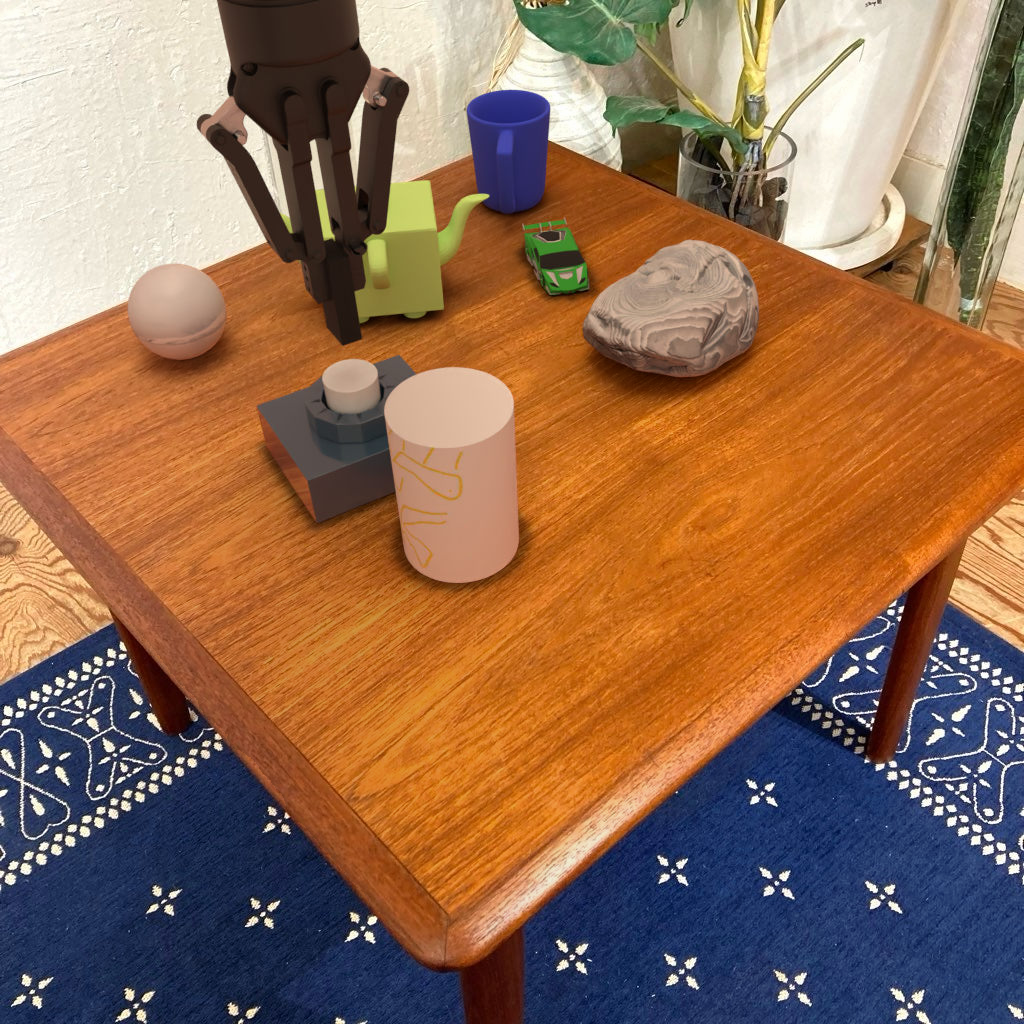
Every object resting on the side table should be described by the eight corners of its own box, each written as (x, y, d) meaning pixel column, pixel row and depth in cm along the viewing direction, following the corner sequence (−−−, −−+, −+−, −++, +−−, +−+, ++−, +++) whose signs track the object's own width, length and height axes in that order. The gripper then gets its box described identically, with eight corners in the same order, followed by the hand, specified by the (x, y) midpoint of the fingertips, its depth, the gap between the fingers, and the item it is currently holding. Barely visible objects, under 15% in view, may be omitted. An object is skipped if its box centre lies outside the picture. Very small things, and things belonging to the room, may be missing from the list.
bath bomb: (126, 349, 94) (99, 269, 88) (207, 314, 97) (186, 235, 92) (168, 390, 89) (142, 309, 84) (252, 352, 93) (232, 271, 87)
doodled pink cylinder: (381, 533, 76) (360, 400, 68) (474, 485, 80) (464, 352, 71) (446, 601, 71) (431, 466, 63) (542, 546, 75) (540, 411, 66)
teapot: (274, 309, 97) (250, 202, 90) (368, 245, 105) (353, 141, 98) (406, 361, 91) (392, 249, 84) (495, 288, 99) (490, 180, 92)
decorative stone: (584, 371, 84) (606, 242, 80) (568, 332, 96) (586, 218, 93) (764, 394, 85) (794, 268, 81) (725, 352, 98) (749, 241, 94)
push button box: (316, 523, 77) (303, 461, 73) (266, 447, 83) (251, 386, 79) (462, 464, 81) (457, 402, 77) (404, 396, 88) (396, 335, 83)
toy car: (595, 291, 98) (595, 269, 96) (545, 299, 97) (544, 277, 96) (567, 237, 105) (567, 216, 103) (520, 244, 104) (519, 223, 103)
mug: (465, 239, 105) (459, 143, 99) (475, 182, 114) (469, 89, 107) (548, 239, 105) (548, 142, 98) (551, 181, 114) (551, 88, 107)
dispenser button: (339, 422, 77) (335, 398, 75) (317, 393, 79) (313, 369, 78) (390, 403, 78) (387, 379, 76) (367, 375, 80) (363, 352, 79)
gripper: (362, -69, 63) (404, 280, 79) (144, -23, 58) (237, 336, 75) (420, -35, 58) (452, 329, 75) (188, 17, 54) (276, 392, 70)
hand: (344, 332), depth 75 cm, fingers closed
